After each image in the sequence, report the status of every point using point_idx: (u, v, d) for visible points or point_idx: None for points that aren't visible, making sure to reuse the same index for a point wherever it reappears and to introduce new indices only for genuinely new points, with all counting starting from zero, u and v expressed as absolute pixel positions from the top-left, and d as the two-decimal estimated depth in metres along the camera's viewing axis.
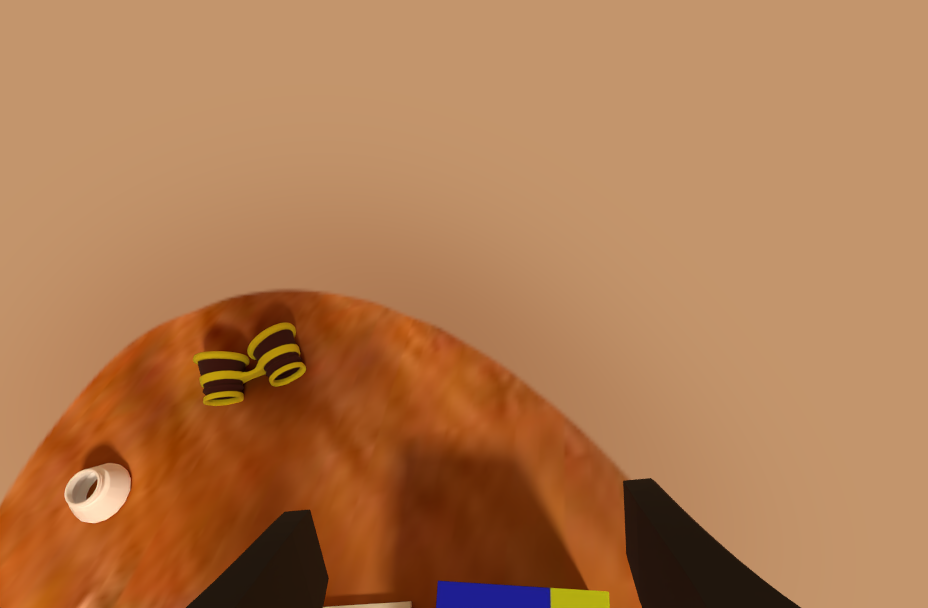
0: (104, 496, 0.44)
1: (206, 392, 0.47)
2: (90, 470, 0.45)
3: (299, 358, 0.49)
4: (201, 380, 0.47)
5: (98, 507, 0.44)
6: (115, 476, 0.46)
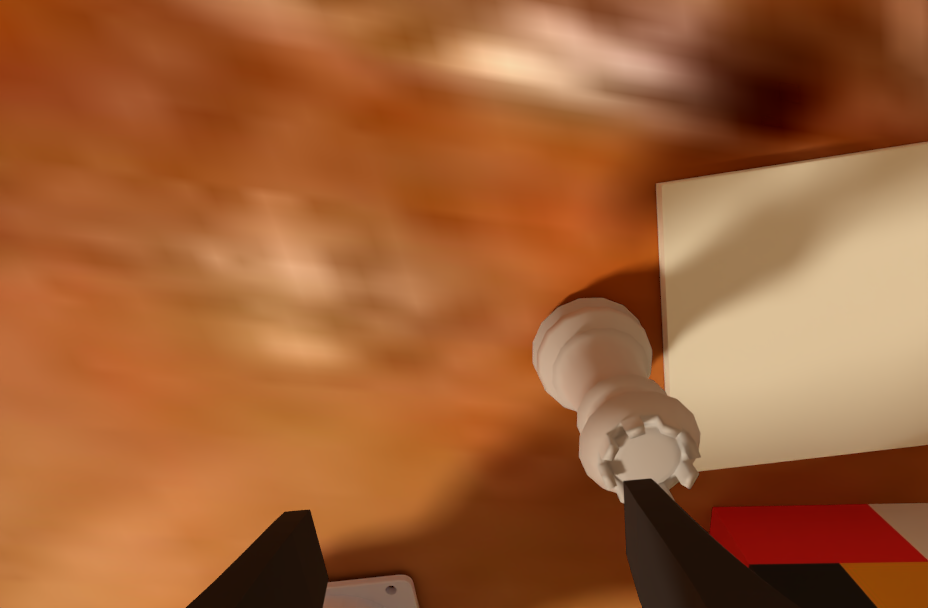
0: None
1: None
2: None
3: None
4: None
5: None
6: None
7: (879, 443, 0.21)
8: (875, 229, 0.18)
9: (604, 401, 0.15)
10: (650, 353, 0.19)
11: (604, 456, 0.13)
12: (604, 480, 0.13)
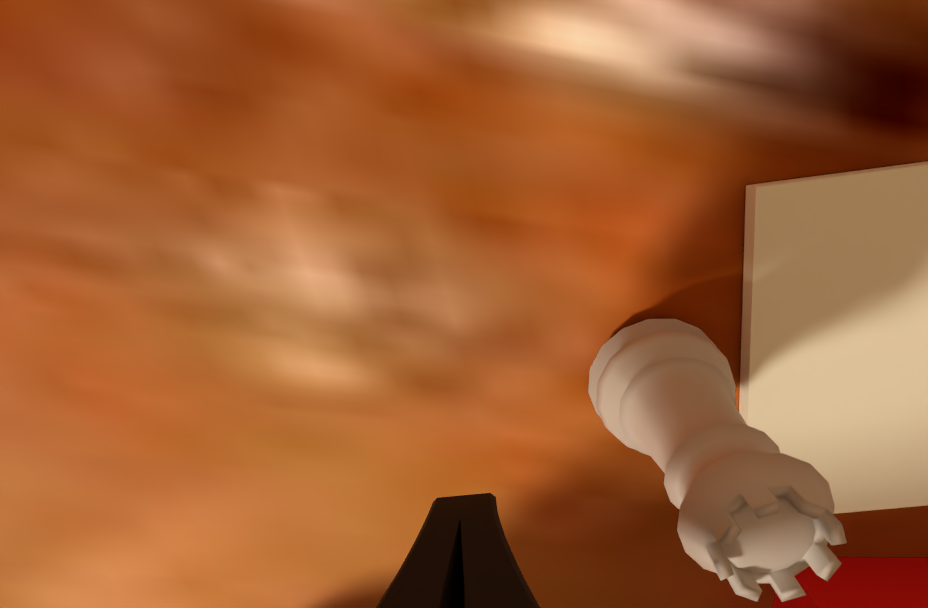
0: None
1: None
2: None
3: None
4: None
5: None
6: None
7: None
8: None
9: (706, 458, 0.12)
10: (734, 387, 0.16)
11: (721, 539, 0.10)
12: (718, 568, 0.10)
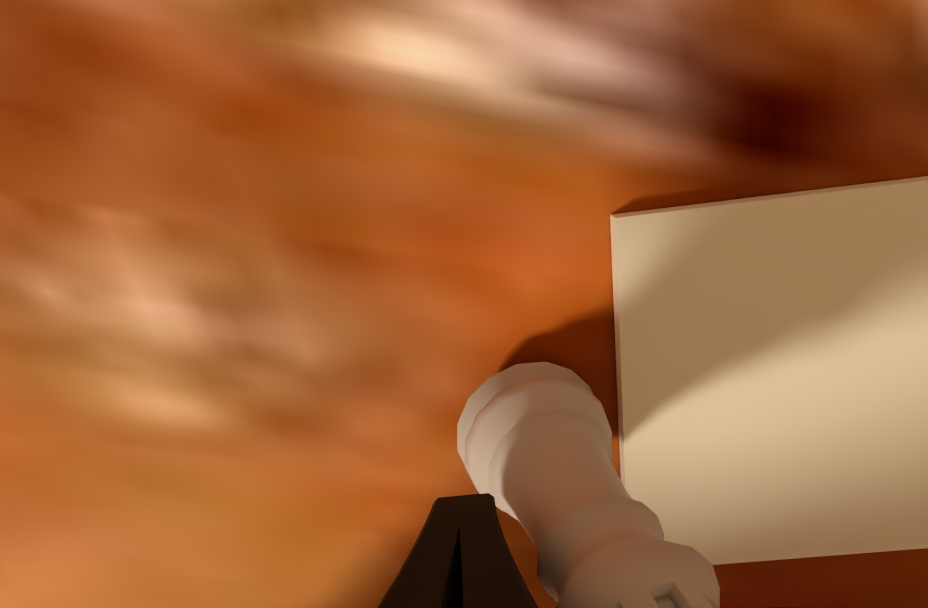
0: None
1: None
2: None
3: None
4: None
5: None
6: None
7: (884, 543, 0.17)
8: (892, 283, 0.14)
9: (580, 546, 0.10)
10: (610, 434, 0.14)
11: None
12: None
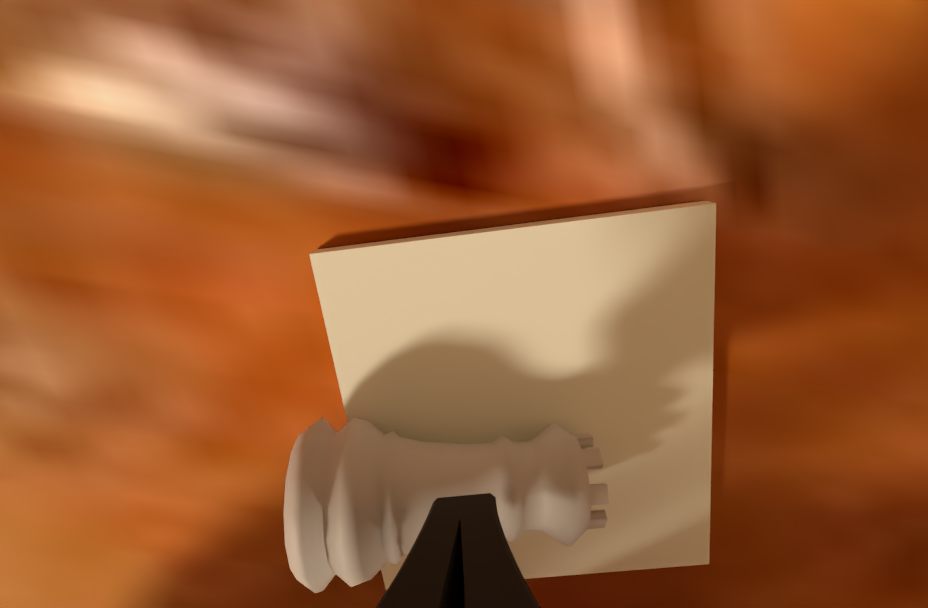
0: None
1: None
2: None
3: None
4: None
5: None
6: None
7: (625, 563, 0.17)
8: (584, 315, 0.15)
9: (532, 477, 0.13)
10: None
11: None
12: (606, 520, 0.14)
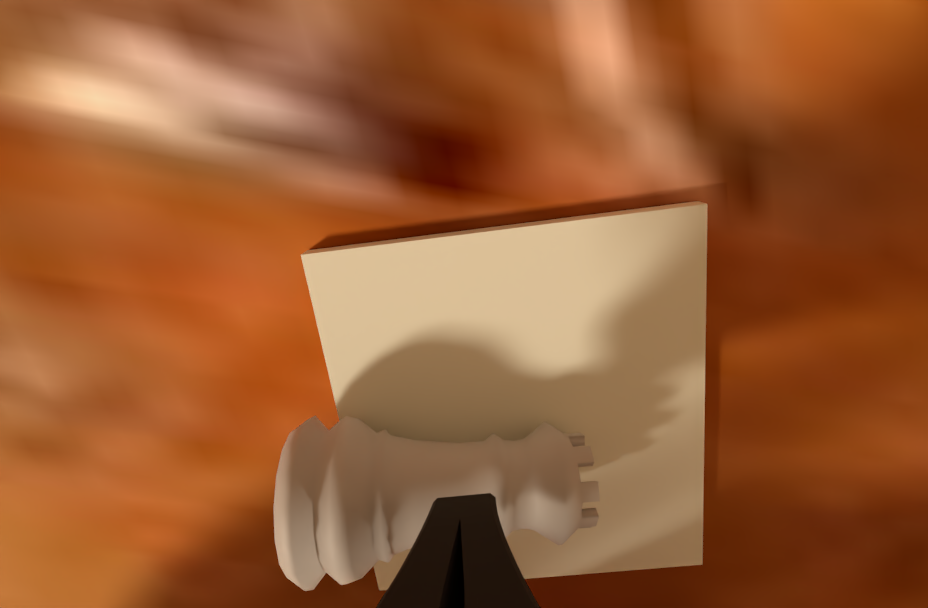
0: None
1: None
2: None
3: None
4: None
5: None
6: None
7: (618, 564, 0.17)
8: (576, 316, 0.15)
9: (523, 474, 0.13)
10: None
11: None
12: (598, 518, 0.13)
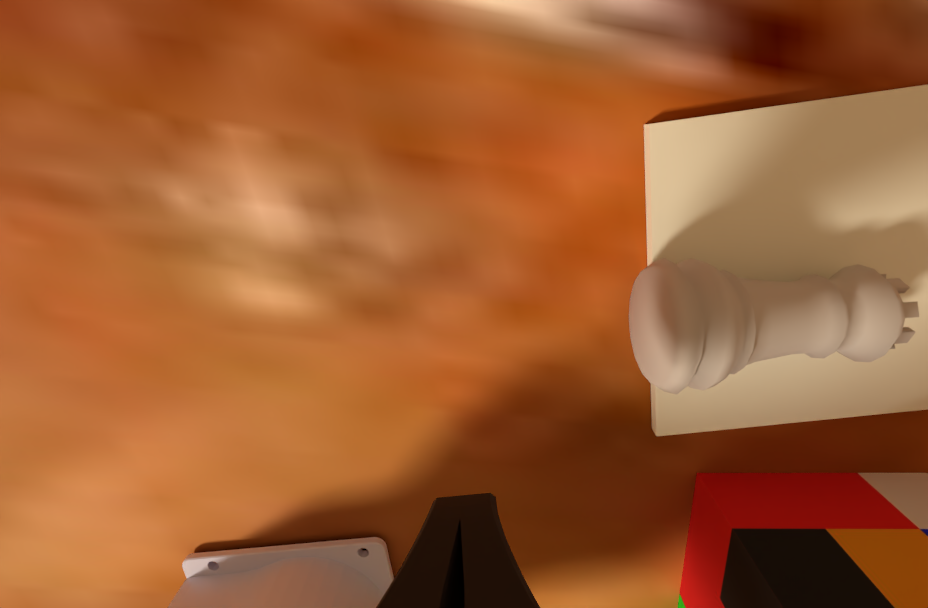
0: None
1: None
2: None
3: None
4: None
5: None
6: None
7: (871, 408, 0.20)
8: (873, 176, 0.17)
9: (852, 297, 0.16)
10: None
11: (918, 313, 0.16)
12: (912, 334, 0.16)
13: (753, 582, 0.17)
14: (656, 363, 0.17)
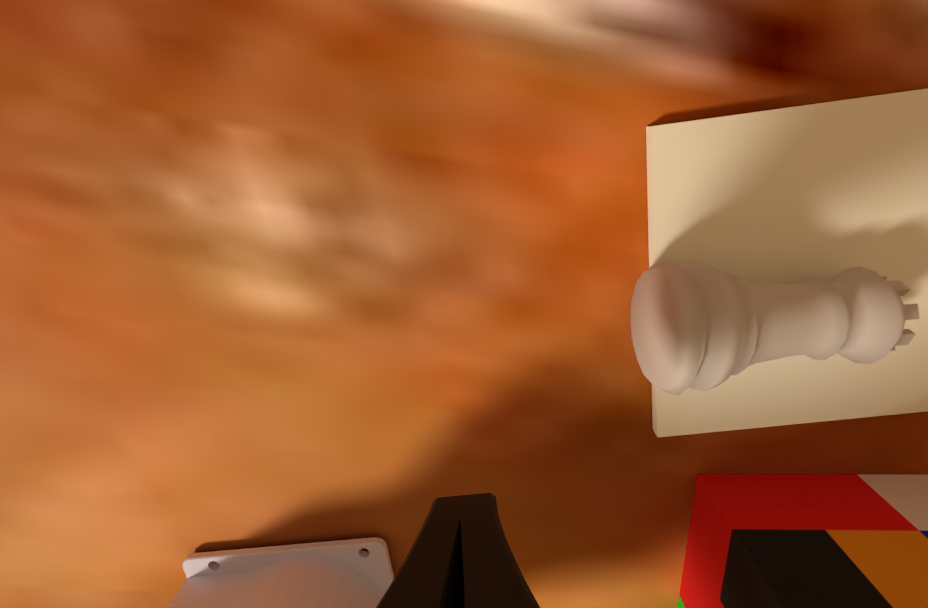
0: None
1: None
2: None
3: None
4: None
5: None
6: None
7: (871, 409, 0.20)
8: (874, 179, 0.18)
9: (853, 299, 0.16)
10: None
11: (918, 315, 0.16)
12: (912, 336, 0.16)
13: (753, 583, 0.18)
14: (658, 364, 0.17)
